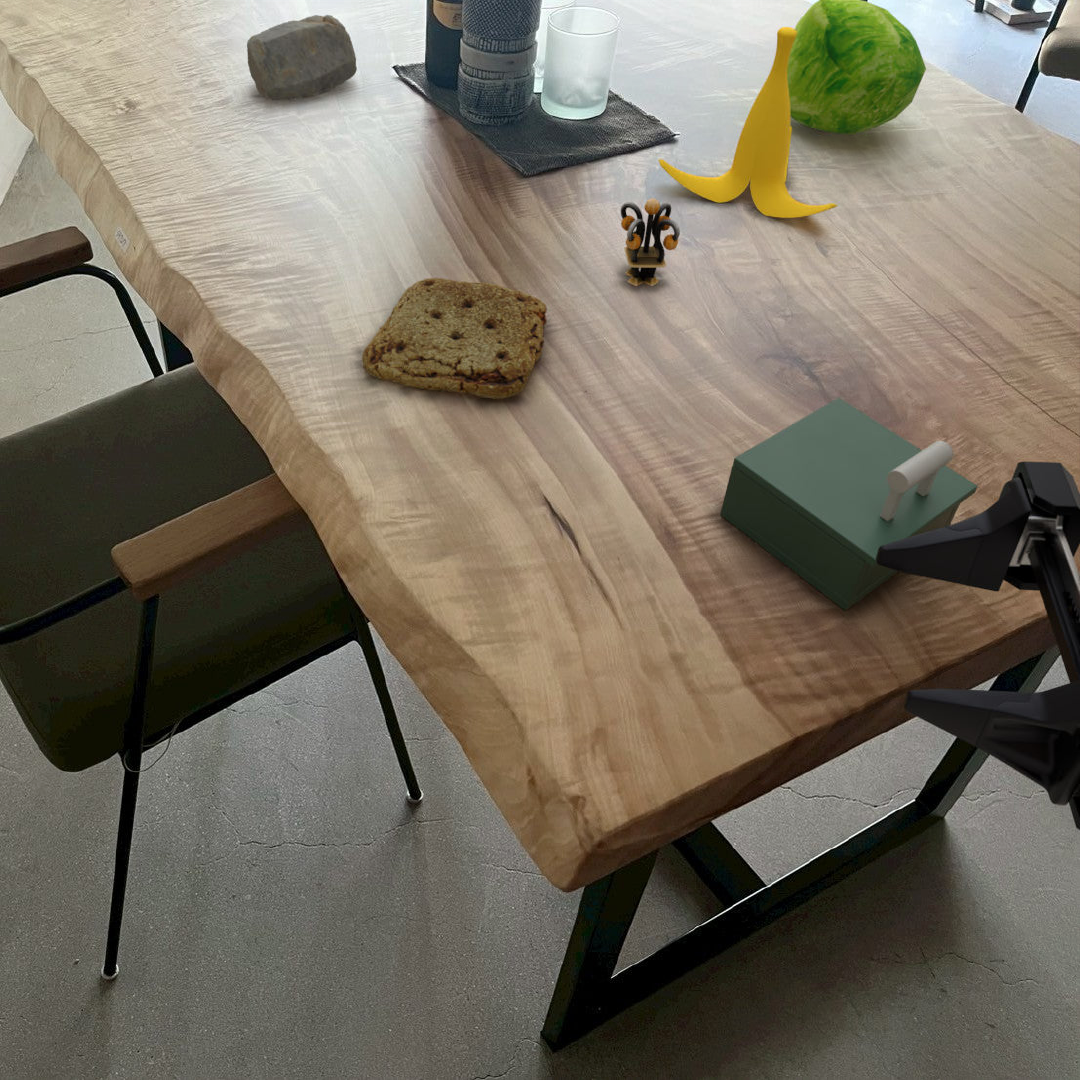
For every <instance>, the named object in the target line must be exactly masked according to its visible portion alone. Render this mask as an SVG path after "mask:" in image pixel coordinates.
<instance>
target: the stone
mask: <svg viewBox="0 0 1080 1080" xmlns="http://www.w3.org/2000/svg"><path fill="white" fill-rule="evenodd" d="M246 52H247V66H248V69H249V73H250V76H251V78H252V80H253V82H254V84H255V88H256V90H257V92H258V93H259V94H260V95H261V96H262V97H264V98H265V99H267V100H269V101H276V102H277V101H291V100H298V99H307V98H310V97H311V98H312V97H313V96H315V95H320V94H324V93H328V92H330V91H331V90H333V89H335V88H336V87H338V86H340V85H342V84H344V83H346V82H347V81H348V80H350V79H352V78H353V77H355V75H356V73H357V71H358V70H357V69H358V67H357V56H356V53H355V49H354V45H353V42H352V38H351V36H350V34H349V33H348V31H347V29H346V27H345V26H344V24H343V23H342V22H341V21H340V20H339V19H337V18H336V17H334V15H330V14H325V15H324V16H323V15H317V14H314V15H311V16H307V17H304V18H303V19H299V20H289V21H286V22H282V23H281V24H277V25H274V26H272V27H269V28H268V29H265V30H263V31H261V32H260V33H258V34H255V35H252V36H250V38H249V39H248V40H247V41H246Z"/></svg>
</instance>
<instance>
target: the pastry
mask: <svg viewBox="0 0 1080 1080" xmlns="http://www.w3.org/2000/svg"><path fill="white" fill-rule="evenodd" d="M547 310H548V308H547V305H546V304H545V303H544V302H543V301H542V300H541V299H539V298H537V297H534V296H532V295H531V294H528V293H525V292H523V291H521V290H516V289H511V288H507V287H505V286H501V285H498V284H495V283H487V282H468V281H459V280H454V279H448V278H443V277H442V278H441V277H433V278H429V277H428V278H424V279H421V280H418V281H416V282H415V283H413V284H412V285H411V286H409V287H407V288H406V289H405V290H404V292H403V293H402V294H401V297H399V300H398V301H397V304H396V305H395V306H393V308H392V310H391V313H390V315H389V316H388V317H387V319H386V321H385V323H384V324H383V325H382V326H381V327H380V326H379V327H378V328H379V330H378V331H377V333H376V334H375V335H374V336H373V338H372V339H371V341H370V342H369V343H368V344H367V346H366V347H364V350H363V352H362V357H361V361H362V366H363V369H364V370H365V371H366V372H367V373H368V374H369V375H370V376H372V377H375V378H377V379H379V380H382V381H388V382H390V383H391V382H393V383H397V384H400V385H403V386H405V387H409V388H415V389H418V390H421V391H425V390H428V391H429V390H431V391H435V392H444V391H447V392H449V393H450V392H456V393H461V394H463V395H465V396H467V395H469V394H471V395H475V396H478V397H479V398H480V397H481V398H486V399H487V398H488V399H493V400H494V399H495V400H496V399H507V398H510V397H514V396H517V395H518V394H520V393H521V392H522V391H523V390H524V388H525V387H526V385H527V382H528V380H529V377H530V375H531V373H532V370H533V367H534V365H535V364H536V363H537V362H538V360H540V358H541V356H542V354H543V350H544V345H545V340H544V337H545V335H544V330H545V329H544V328H545V327H544V326H545V325H547V321H548V320H547V319H546V317H547V316H546V314H547Z"/></svg>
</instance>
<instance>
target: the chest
mask: <svg viewBox="0 0 1080 1080" xmlns="http://www.w3.org/2000/svg"><path fill="white" fill-rule="evenodd" d="M960 505H961V503H960V504H959V505H957V506H956V507H955V508H953V509H952V510H950V511H949V512H948V513H946V514H945V515H944V516H942V517H941V518H939V519H938V520H937V521H935V522H934V523H932V524H931V525H930V526H928V527H927V528H926V529H924V530H923V531H921V532H920V533H919V534H922V533H925V532H928V531H932V530H935V529H939V528H942V527H945V526H949V525H952V522H953V520H954V518H955V515H956V513H957V511H958V509H959V507H960ZM720 516H721V517H722V518H723V519H725V520H726V521H728V522H729V524H731V525H733V527H735V528H737V530H739V531H741V532H742V533H743V534H744V535H746V536H747V537H748V538H750V540H752V541H754V542H755V543H756V544H757V545H759V547H761V548H763V549H764V550H765V551H767V552H768V553H769V554H770V555H772V556H773V557H774V558H776V559H777V560H778V561H780V562H781V563H782V564H783V565H785V566H786V567H787V568H789V569H790V570H791V571H792V572H794V573H795V574H797V575H798V576H799V577H801V578H802V580H804V581H806V582H807V583H809V584H810V585H811V586H812V587H814V588H815V589H816V590H818V591H819V592H820V593H821V594H823V595H824V596H826V598H828V599H829V600H830V601H832V602H833V603H835V604H836V605H837V606H838V607H840V608H841V609H842V610H844V611H847V610H849V609H850V608H851V607H853V606H854V605H855V604H857V603H858V602H859V601H860V600H863V598H865V597H866V596H867V595H869V594H870V593H872V591H874V590H875V589H877V588H878V587H879V586H880V585H882V584H883V583H885V582H886V581H887V580H889V579H890V578H892V577H893V576H894V575H896V574H897V573H898V572H899V571H897V570H893V569H890V568H887V567H884V566H880V565H878V564H876V565H874V566H871V565H870V564H868V563H867V562H866V561H864V560H863V559H862V558H860V557H859V556H857V555H856V554H855V553H853V552H852V551H851V550H849V549H848V548H846V547H845V546H844V545H842V544H841V543H840V542H838V541H837V540H835V539H834V538H833V537H831V536H830V535H828V534H827V533H826V532H824V531H823V530H822V529H820V528H819V527H817V526H816V525H815V524H813V523H812V522H811V521H809V520H808V519H806V518H805V517H804V516H802V515H801V514H800V513H798V512H797V511H795V510H794V509H793V508H791V507H790V506H789V505H787V504H786V503H784V502H783V501H782V500H780V499H779V498H777V497H776V496H775V495H773V494H772V493H771V492H769V491H768V490H766V489H765V488H764V487H762V486H761V485H760V484H758V483H757V482H755V481H754V480H753V479H751V478H750V477H749V476H747V475H746V474H744V473H743V472H742V471H740V470H739V469H738V468H736V467H735V466H733V465H732V466H731V469H730V472H729V478H728V481H727V485H726V489H725V494H724V498H723V501H722V504H721V510H720ZM917 535H918V534H917Z"/></svg>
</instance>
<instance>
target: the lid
mask: <svg viewBox="0 0 1080 1080" xmlns="http://www.w3.org/2000/svg"><path fill="white" fill-rule="evenodd" d="M953 458H954V450H953V447H952V446H951V445H950V444H949V443H948V442H946V441H944V440H936V441H935V442H933V443H932V444H930V445H929V446H927V447H925V448H924V449H920V448H919V447H917V445H916V446H915V444H913V443H911V442H910V441H908V440H906V439H904V438H903V437H901V436H900V435H898V434H897V433H895V432H894V431H892V430H891V429H889V428H888V427H886V426H884V425H883V424H881V423H880V422H878V421H877V420H875V419H873V418H872V417H870V416H869V415H867V414H866V413H864V412H862V411H861V410H859V408H856V407H854V405H851V404H850V403H848V402H846V400H844V399H842V398H841V397H837V398H834V400H832V401H830V402H829V403H826V404H824V405H823V406H821V407H819V408H818V409H815V410H814V411H813V412H811V413H809V414H808V415H805V416H804V417H803V418H802V417H801V418H800V419H799V420H797V421H796V422H794V423H792V424H791V425H788V426H787V427H785V428H783V429H782V430H780V431H779V432H777V433H775V434H773V435H772V436H770V437H768V438H766V439H765V440H763V441H761V442H759V443H758V444H756V445H754V446H752V447H751V448H749V449H747V450H746V451H744V452H742V453H741V454H739V455H737V456H735V457H734V458H733V462H732V466H735V467H736V468H738V469H739V470H740V471H742V472H743V473H744V474H746V475H747V476H749V477H750V478H751V479H753V480H754V481H755V482H757V483H758V484H760V485H761V486H762V487H764V488H765V489H766V490H768V491H769V492H771V493H772V494H773V495H775V496H776V497H777V498H779V499H780V500H782V501H783V502H784V503H786V504H787V505H789V506H790V507H791V508H793V509H794V510H795V511H797V512H798V513H800V514H801V515H802V516H804V517H805V518H806V519H808V520H809V521H811V522H812V523H813V524H815V525H816V526H817V527H819V528H820V529H822V530H823V531H824V532H826V533H827V534H828V535H830V536H831V537H833V538H834V539H835V540H837V541H838V542H840V543H841V544H842V545H844V546H845V547H846V548H848V549H849V550H851V551H852V552H853V553H855V554H856V555H857V556H859V557H860V558H862V559H863V560H864V561H866V562H867V563H868V564H870V565H871V566H874V565H876V564H877V561H876V556H877V552H878V549H879V547H880V546H882V545H884V544H888V543H891V542H895V541H898V540H901V539H905V538H908V537H911V536H915V535H917V534H919V533H920V532H921V531H923V530H924V529H926V528H927V527H928V526H930V525H931V524H932V523H934V522H935V521H937V520H938V519H939V518H941V517H942V516H944V515H945V514H946V513H948V512H949V511H950V510H952V509H953V508H955V507H956V506H957V505H959V504H960V505H961V503H963V502H964V501H966V500H967V499H968V498H970V497H972V496H973V495H974V494H975V493H976V491H977V489H978V486H979V485H977V484H976V483H975V482H973V481H971V480H969V479H968V478H966V477H964V476H963V475H962V474H960V473H958V472H957V471H955V470H953V469H952V468H950V467H949V466H947V464H949V463H950V462H951V461H952V460H953ZM960 505H959V506H960Z"/></svg>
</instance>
